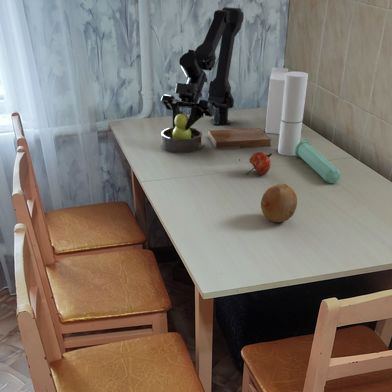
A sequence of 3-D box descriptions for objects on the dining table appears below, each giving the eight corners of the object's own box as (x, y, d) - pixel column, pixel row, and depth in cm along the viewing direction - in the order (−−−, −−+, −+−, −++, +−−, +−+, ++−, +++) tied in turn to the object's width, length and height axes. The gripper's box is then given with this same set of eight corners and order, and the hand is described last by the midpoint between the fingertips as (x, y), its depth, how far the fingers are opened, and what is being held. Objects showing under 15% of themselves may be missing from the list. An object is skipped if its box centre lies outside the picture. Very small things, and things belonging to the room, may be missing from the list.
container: (341, 165, 164) (308, 137, 183) (324, 173, 164) (292, 145, 183) (345, 181, 168) (312, 152, 187) (327, 190, 168) (296, 160, 187)
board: (208, 137, 202) (208, 130, 200) (260, 134, 205) (260, 127, 203) (215, 149, 192) (215, 142, 190) (270, 146, 195) (270, 139, 193)
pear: (171, 142, 195) (170, 109, 188) (189, 141, 196) (189, 108, 188) (174, 149, 190) (173, 114, 183) (192, 147, 191) (192, 113, 183)
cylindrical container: (297, 149, 193) (307, 71, 177) (298, 156, 187) (308, 77, 171) (277, 148, 193) (285, 71, 178) (278, 155, 188) (286, 76, 172)
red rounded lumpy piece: (252, 186, 172) (279, 167, 169) (239, 167, 169) (266, 147, 166) (251, 179, 178) (277, 161, 175) (239, 161, 176) (265, 142, 172)
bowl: (159, 141, 198) (158, 127, 194) (197, 139, 200) (197, 125, 197) (165, 155, 187) (164, 140, 184) (205, 153, 189) (205, 138, 186)
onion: (271, 209, 154) (275, 174, 147) (302, 219, 149) (306, 184, 143) (252, 220, 148) (254, 185, 142) (283, 231, 143) (287, 195, 137)
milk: (268, 128, 211) (273, 65, 197) (283, 129, 210) (289, 66, 196) (265, 133, 206) (270, 69, 193) (280, 134, 205) (287, 70, 191)
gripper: (162, 68, 184) (147, 111, 184) (211, 75, 178) (196, 119, 177) (173, 88, 195) (159, 128, 194) (221, 95, 188) (206, 136, 188)
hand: (179, 128), depth 188 cm, fingers closed on pear, 5 cm apart
